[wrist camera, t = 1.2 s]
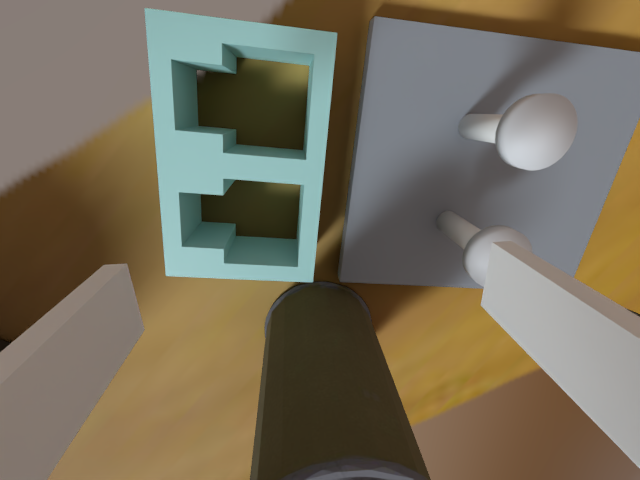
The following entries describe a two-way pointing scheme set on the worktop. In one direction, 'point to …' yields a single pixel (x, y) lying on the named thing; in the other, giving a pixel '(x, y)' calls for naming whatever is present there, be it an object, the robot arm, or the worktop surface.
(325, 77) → the teal breeze block
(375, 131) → the board
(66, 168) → the worktop surface
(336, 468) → the canister
